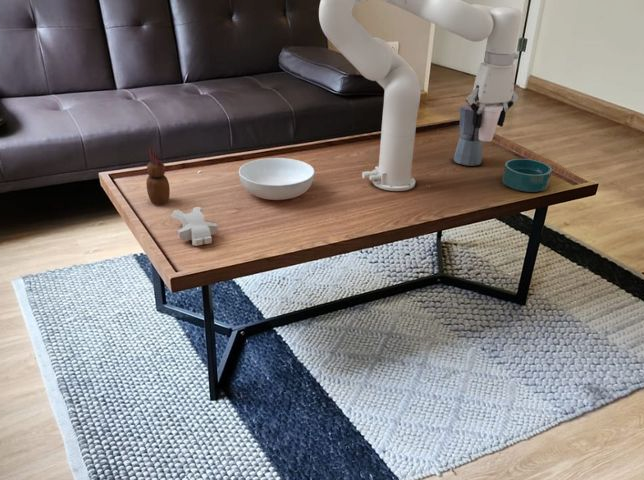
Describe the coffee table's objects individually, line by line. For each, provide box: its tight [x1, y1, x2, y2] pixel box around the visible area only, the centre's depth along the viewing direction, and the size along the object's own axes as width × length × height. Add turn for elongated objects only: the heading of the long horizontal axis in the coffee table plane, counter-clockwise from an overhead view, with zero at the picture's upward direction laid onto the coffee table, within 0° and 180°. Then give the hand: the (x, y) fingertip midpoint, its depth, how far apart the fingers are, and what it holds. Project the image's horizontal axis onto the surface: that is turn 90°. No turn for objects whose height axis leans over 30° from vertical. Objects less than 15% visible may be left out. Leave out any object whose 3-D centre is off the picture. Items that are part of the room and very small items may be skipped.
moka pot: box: [453, 100, 483, 167], centre depth 200 cm, size 10×15×20 cm, turn 174°
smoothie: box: [479, 103, 503, 143], centre depth 176 cm, size 6×6×14 cm
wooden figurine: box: [146, 145, 171, 206], centre depth 169 cm, size 7×6×15 cm
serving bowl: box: [238, 157, 316, 201], centre depth 178 cm, size 21×21×7 cm
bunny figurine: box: [171, 206, 219, 247], centre depth 156 cm, size 10×5×15 cm
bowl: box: [501, 158, 553, 193], centre depth 190 cm, size 13×13×6 cm
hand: (487, 125), depth 178 cm, fingers closed on smoothie, 6 cm apart
